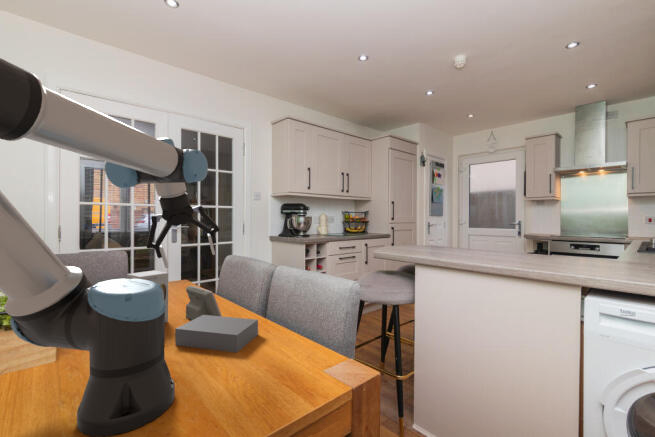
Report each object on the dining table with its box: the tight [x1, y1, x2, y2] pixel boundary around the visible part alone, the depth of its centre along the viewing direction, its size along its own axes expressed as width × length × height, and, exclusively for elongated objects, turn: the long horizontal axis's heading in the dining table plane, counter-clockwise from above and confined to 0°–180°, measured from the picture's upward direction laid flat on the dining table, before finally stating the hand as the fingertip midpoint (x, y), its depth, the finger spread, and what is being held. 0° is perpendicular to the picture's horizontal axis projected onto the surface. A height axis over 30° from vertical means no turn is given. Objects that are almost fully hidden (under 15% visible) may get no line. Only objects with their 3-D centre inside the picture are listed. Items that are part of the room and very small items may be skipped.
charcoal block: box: [174, 315, 259, 353], centre depth 87 cm, size 12×19×5 cm, turn 77°
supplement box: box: [126, 269, 169, 324], centre depth 100 cm, size 10×9×17 cm
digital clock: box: [185, 285, 222, 321], centre depth 105 cm, size 16×9×11 cm, turn 39°
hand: (190, 259), depth 93 cm, fingers open, 13 cm apart
